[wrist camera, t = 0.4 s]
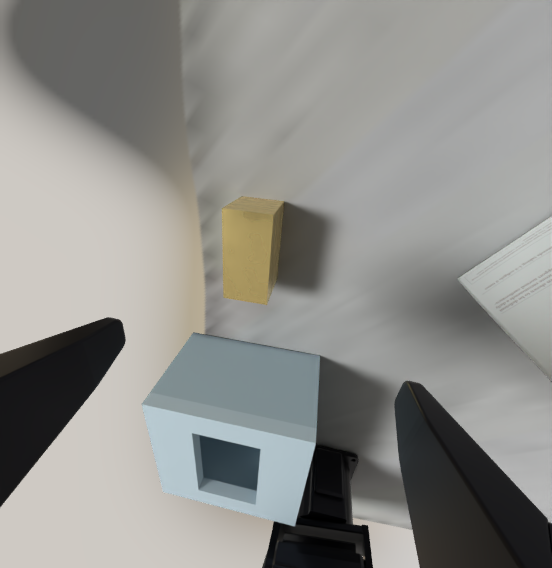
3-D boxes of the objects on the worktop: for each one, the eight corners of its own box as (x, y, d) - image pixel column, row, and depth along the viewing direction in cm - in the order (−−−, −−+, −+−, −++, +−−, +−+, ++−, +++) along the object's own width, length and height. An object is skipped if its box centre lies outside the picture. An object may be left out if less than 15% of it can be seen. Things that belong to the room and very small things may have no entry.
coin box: (303, 436, 30) (294, 526, 23) (200, 413, 31) (163, 491, 24) (320, 355, 24) (315, 443, 17) (193, 332, 25) (141, 404, 18)
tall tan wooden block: (284, 201, 18) (273, 214, 15) (277, 278, 21) (266, 304, 18) (242, 196, 19) (222, 208, 15) (241, 272, 22) (223, 297, 18)
